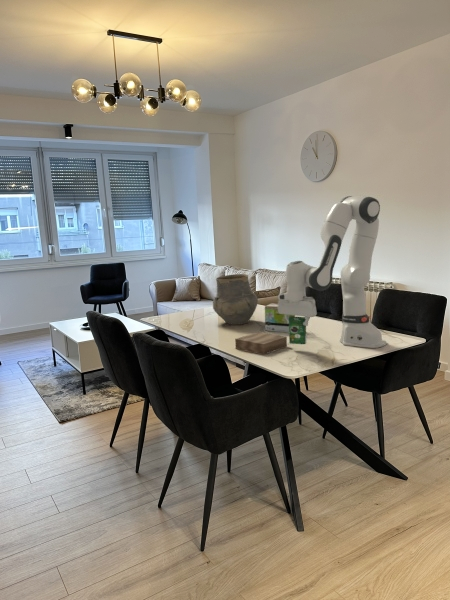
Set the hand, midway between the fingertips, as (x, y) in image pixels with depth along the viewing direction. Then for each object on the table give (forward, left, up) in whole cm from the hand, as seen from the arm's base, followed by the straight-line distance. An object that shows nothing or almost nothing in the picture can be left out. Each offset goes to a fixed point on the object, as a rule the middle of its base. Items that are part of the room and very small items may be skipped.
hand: (297, 324), depth 216 cm
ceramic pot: (+70, -31, -13) cm, 77 cm away
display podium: (+18, +6, -13) cm, 22 cm away
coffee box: (0, 0, -10) cm, 10 cm away
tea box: (+34, -30, -13) cm, 46 cm away
